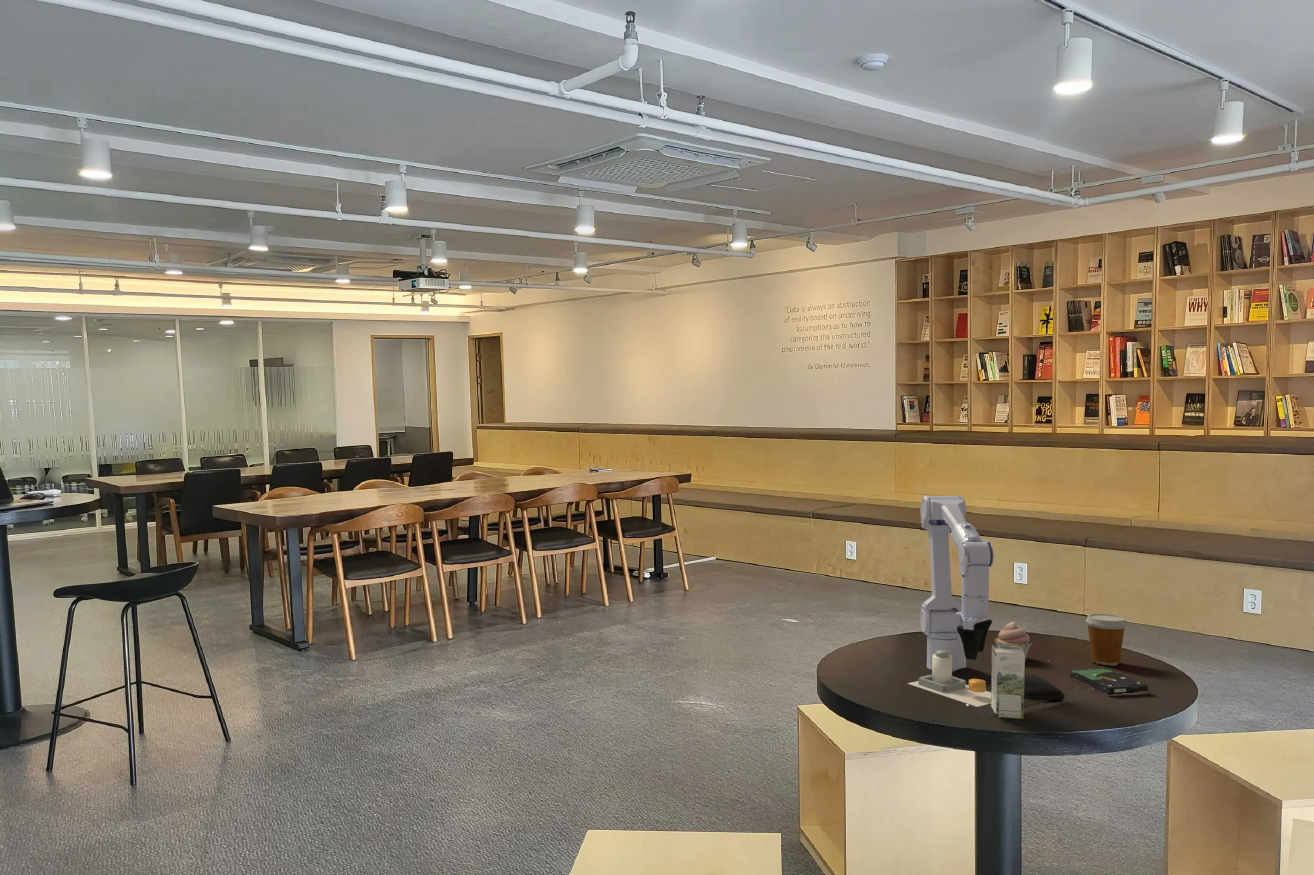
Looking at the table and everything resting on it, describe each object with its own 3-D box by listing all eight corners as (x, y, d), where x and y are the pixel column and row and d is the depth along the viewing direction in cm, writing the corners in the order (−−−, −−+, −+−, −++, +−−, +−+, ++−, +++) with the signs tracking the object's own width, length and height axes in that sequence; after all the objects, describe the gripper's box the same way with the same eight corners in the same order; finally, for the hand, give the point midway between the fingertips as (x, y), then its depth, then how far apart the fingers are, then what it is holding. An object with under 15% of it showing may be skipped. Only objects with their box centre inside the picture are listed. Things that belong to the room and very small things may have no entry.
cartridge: (941, 681, 218) (941, 648, 218) (955, 686, 214) (956, 652, 214) (928, 684, 216) (928, 650, 216) (942, 689, 212) (943, 655, 212)
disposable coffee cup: (1089, 656, 245) (1089, 611, 244) (1128, 662, 239) (1129, 616, 239) (1081, 664, 237) (1082, 618, 236) (1122, 670, 231) (1123, 623, 231)
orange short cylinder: (975, 686, 209) (976, 677, 209) (989, 690, 206) (989, 681, 206) (965, 689, 207) (965, 680, 207) (978, 693, 204) (978, 684, 204)
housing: (939, 680, 223) (939, 670, 223) (1009, 702, 206) (1010, 691, 206) (907, 687, 217) (907, 677, 217) (977, 711, 200) (977, 699, 200)
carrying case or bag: (994, 685, 219) (1021, 705, 205) (994, 673, 219) (1021, 692, 205) (1037, 685, 220) (1068, 705, 205) (1038, 672, 220) (1068, 691, 205)
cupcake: (1034, 665, 236) (1034, 626, 236) (995, 662, 239) (996, 624, 238) (1030, 656, 245) (1030, 618, 245) (993, 653, 248) (993, 616, 247)
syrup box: (1018, 711, 200) (1019, 645, 199) (1024, 720, 194) (1025, 652, 194) (990, 709, 201) (991, 643, 200) (995, 718, 195) (996, 651, 195)
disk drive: (1149, 697, 212) (1106, 678, 226) (1149, 685, 212) (1106, 666, 226) (1109, 699, 210) (1068, 680, 225) (1109, 687, 210) (1068, 668, 224)
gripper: (963, 587, 214) (963, 645, 215) (949, 598, 202) (948, 660, 202) (995, 590, 211) (994, 649, 211) (983, 602, 198) (982, 664, 199)
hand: (974, 655), depth 206 cm, fingers open, 7 cm apart
